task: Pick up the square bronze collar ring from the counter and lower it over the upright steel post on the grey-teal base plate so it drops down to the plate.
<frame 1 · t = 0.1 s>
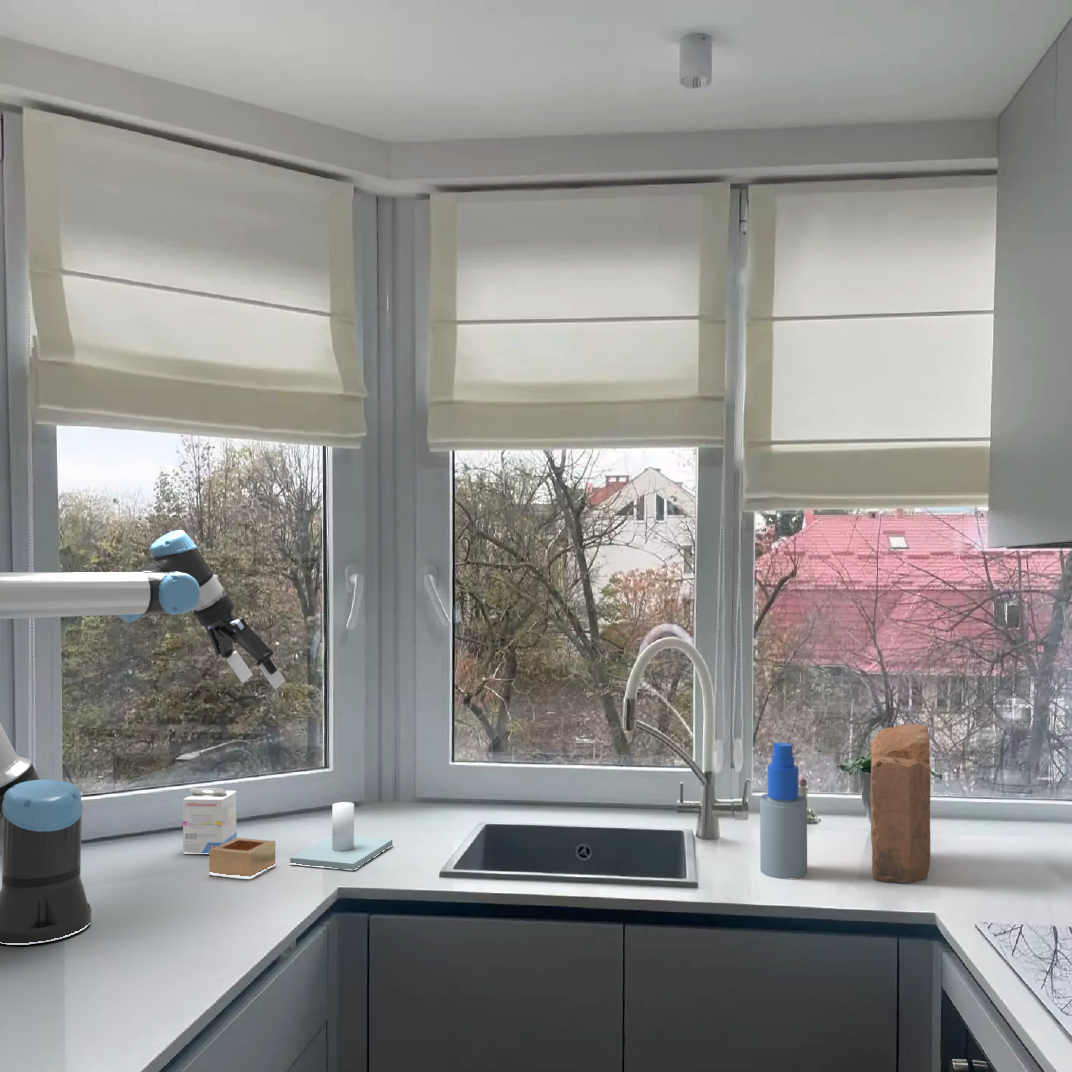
hand: (263, 681, 208), 36 cm above the worktop, tool tilted 35°, fingers open, 13 cm apart
ink box: (210, 850, 210), on the worktop
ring: (242, 871, 195), on the worktop
post stand: (342, 855, 205), on the worktop
spray bottle: (783, 872, 195), on the worktop
stone: (899, 869, 197), on the worktop
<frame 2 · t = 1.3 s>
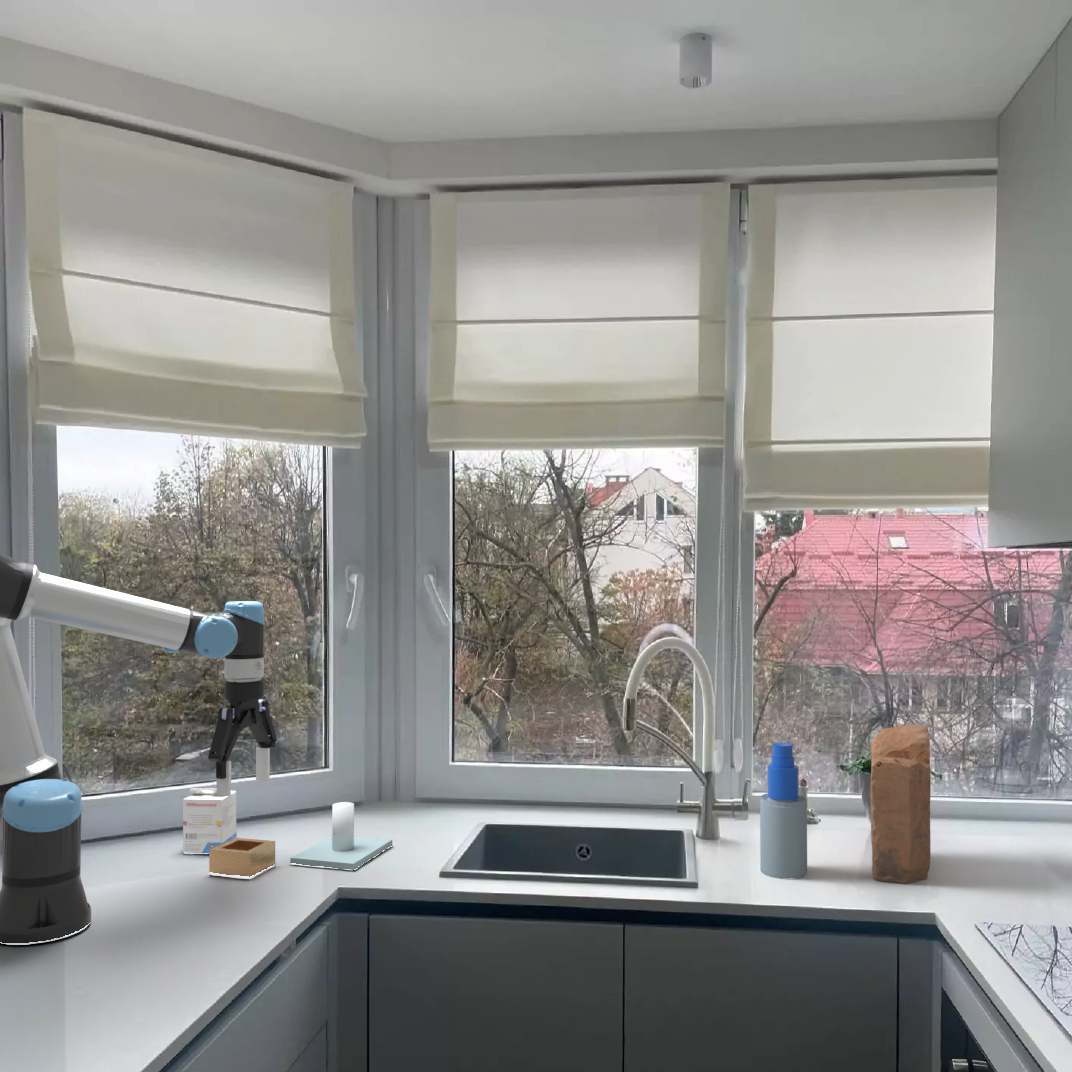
hand: (243, 787, 196), 16 cm above the worktop, tool pointing down, fingers open, 13 cm apart
nothing on the worktop moved.
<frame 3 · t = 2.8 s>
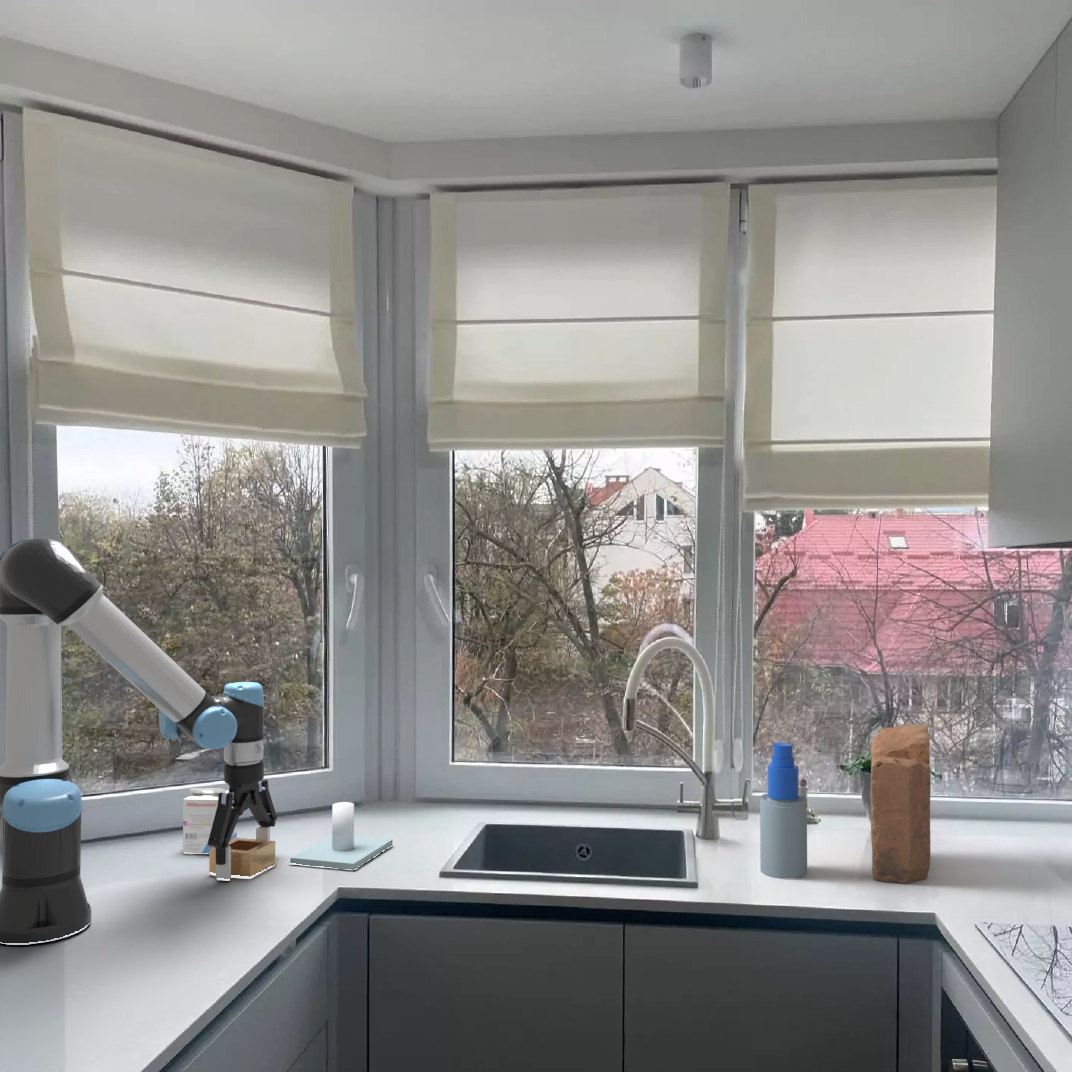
hand: (243, 870, 195), 0 cm above the worktop, tool pointing down, fingers open, 13 cm apart
nothing on the worktop moved.
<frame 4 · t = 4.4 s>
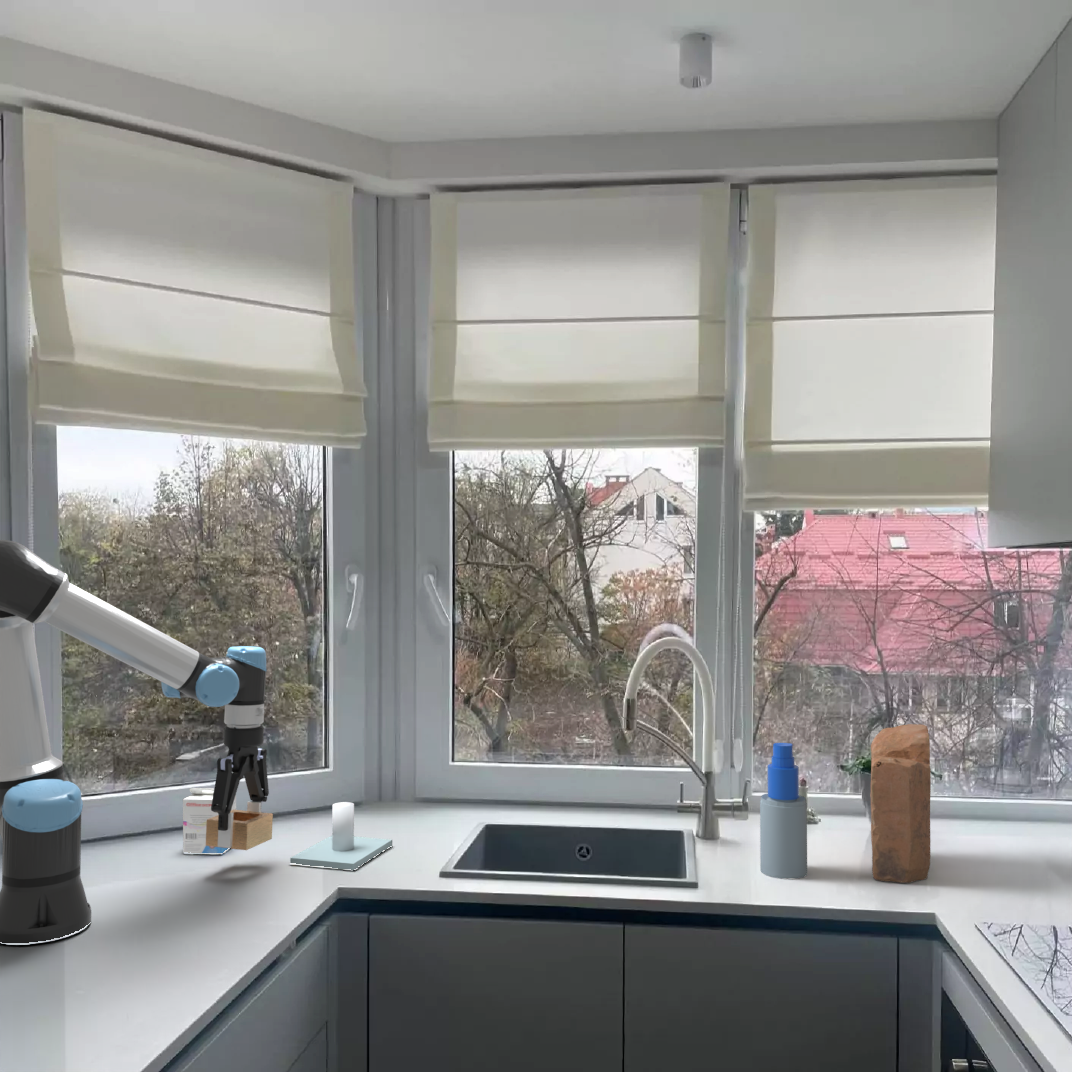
hand: (239, 840, 195), 6 cm above the worktop, tool pointing down, fingers closed on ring, 9 cm apart
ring: (239, 842, 195), point 6 cm above the worktop, touching gripper
everything else where it was.
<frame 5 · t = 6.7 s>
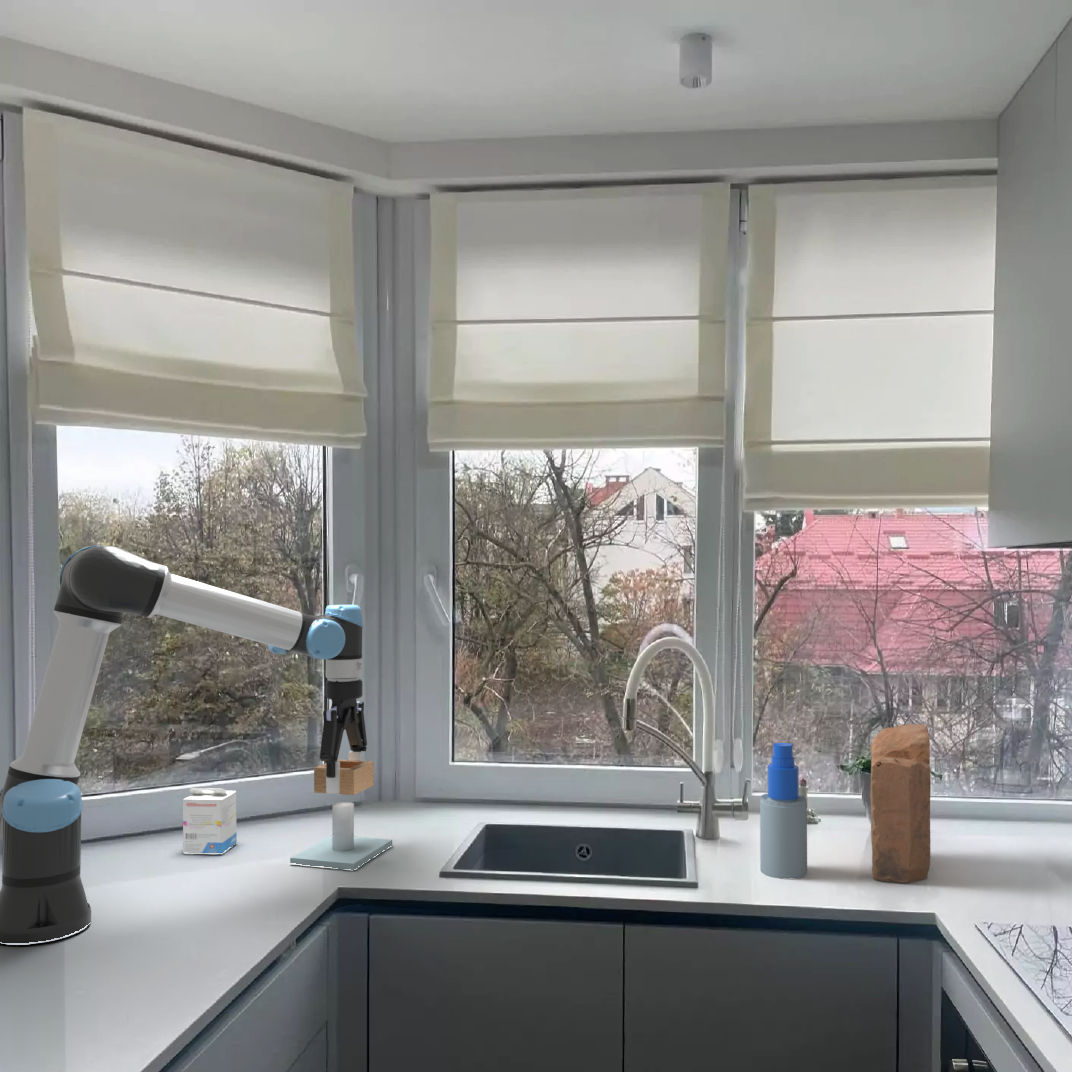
hand: (344, 787, 206), 14 cm above the worktop, tool pointing down, fingers closed on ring, 9 cm apart
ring: (344, 788, 206), point 14 cm above the worktop, touching gripper
everything else where it was.
when the fingers open (2 cm above the worktop, at t = 9.3 s): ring stays where it is, resting on post stand.
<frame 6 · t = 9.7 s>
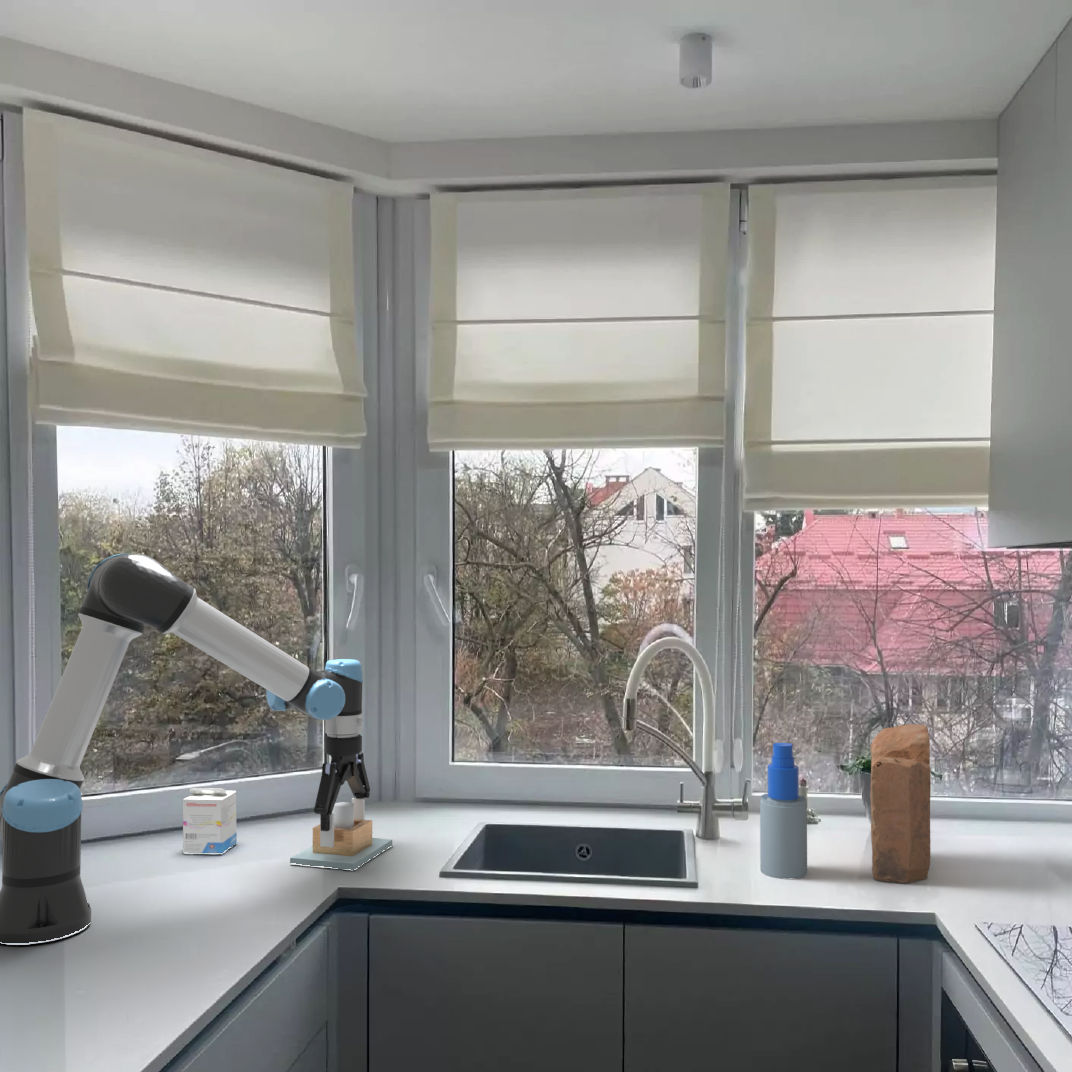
hand: (343, 837, 206), 4 cm above the worktop, tool pointing down, fingers open, 13 cm apart
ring: (342, 848, 206), point 1 cm above the worktop, touching post stand
everything else where it was.
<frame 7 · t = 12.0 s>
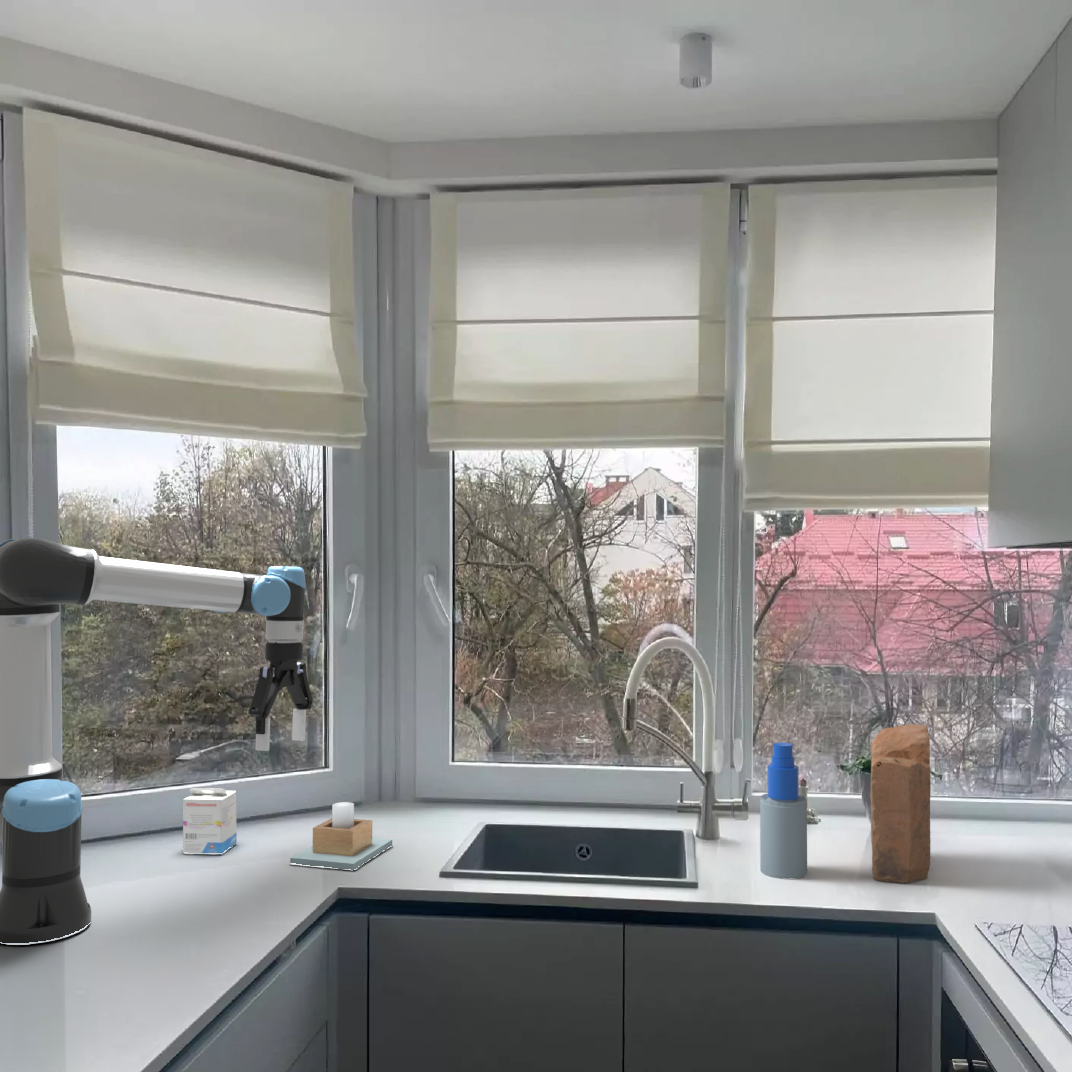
hand: (280, 745, 203), 23 cm above the worktop, tool pointing down, fingers open, 13 cm apart
nothing on the worktop moved.
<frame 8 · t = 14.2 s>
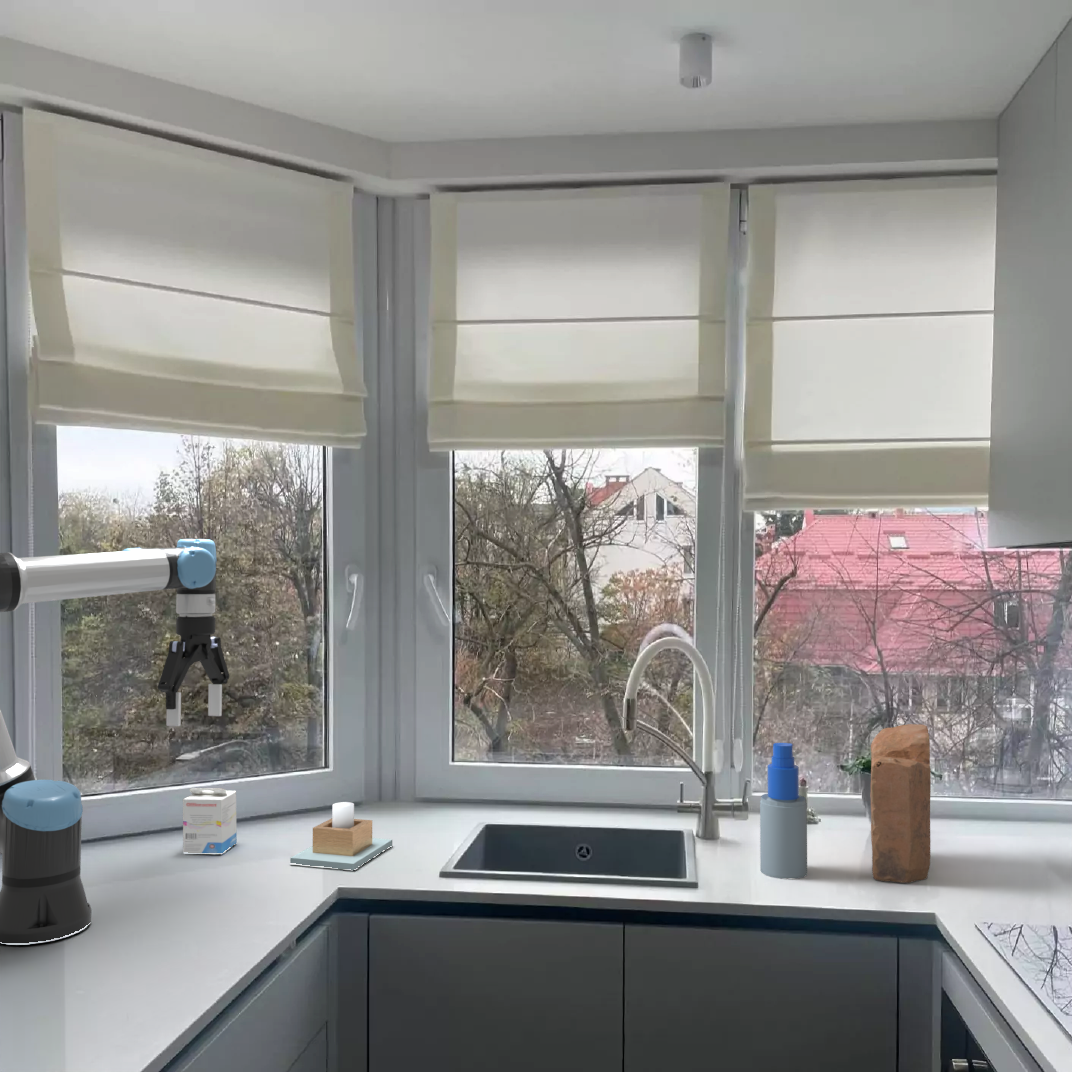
hand: (194, 720, 200), 29 cm above the worktop, tool pointing down, fingers open, 13 cm apart
nothing on the worktop moved.
at the end: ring 0.0 cm off-centre on the post stand, point 1.5 cm above the post stand's base; the gripper is holding nothing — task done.
